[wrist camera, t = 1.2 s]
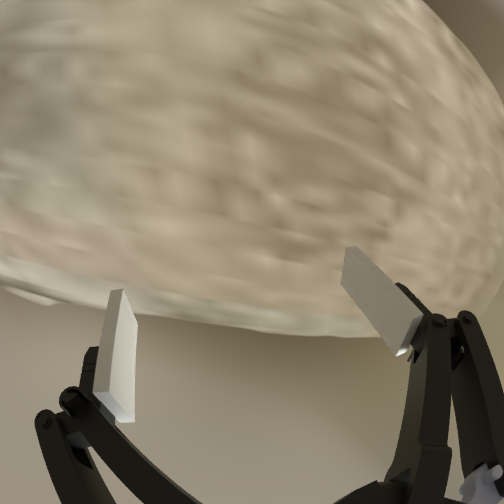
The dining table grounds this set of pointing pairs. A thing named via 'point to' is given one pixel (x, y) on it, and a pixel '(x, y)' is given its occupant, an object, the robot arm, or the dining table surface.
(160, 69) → the dining table surface
